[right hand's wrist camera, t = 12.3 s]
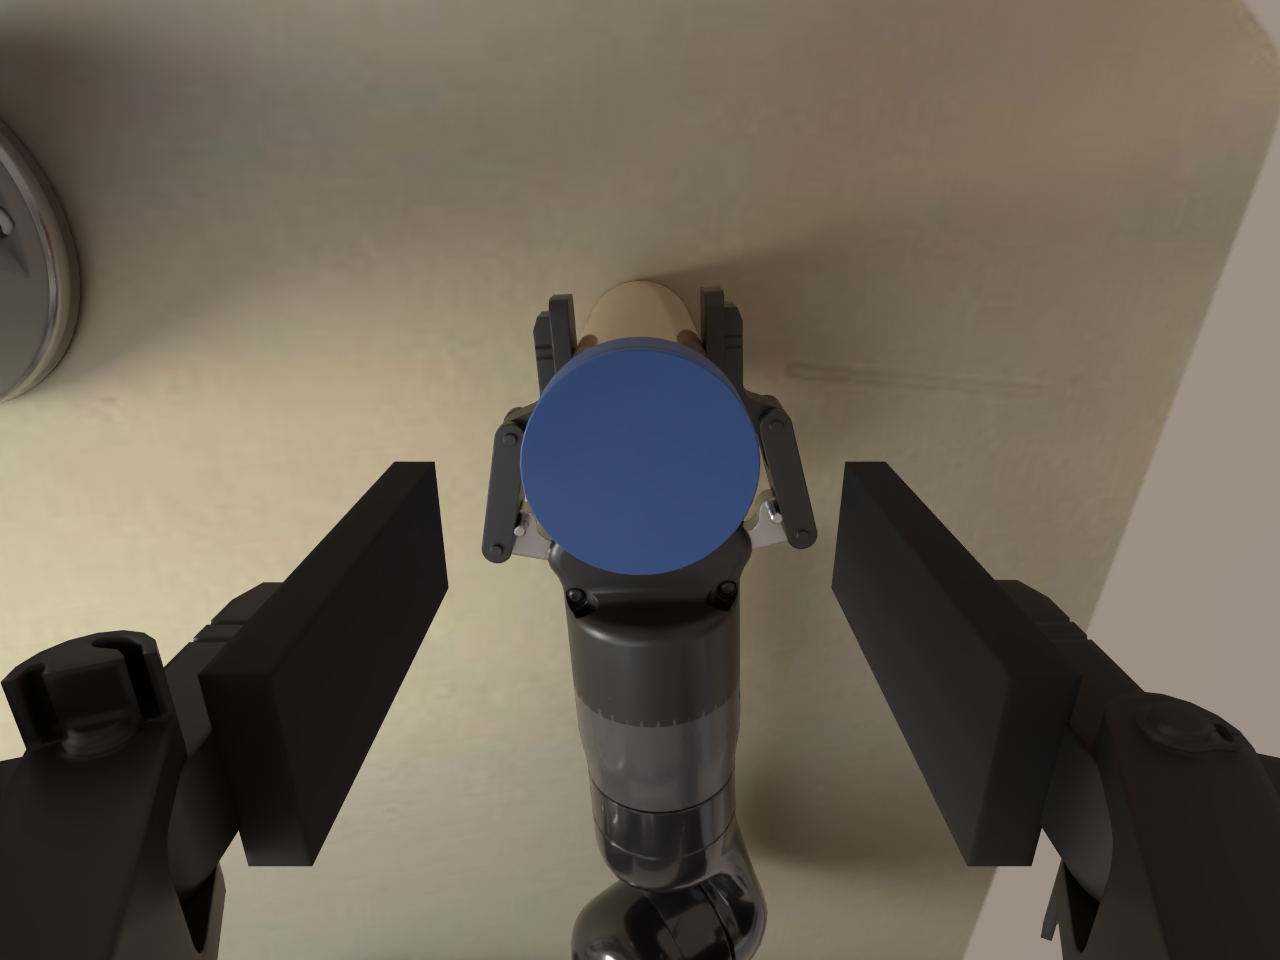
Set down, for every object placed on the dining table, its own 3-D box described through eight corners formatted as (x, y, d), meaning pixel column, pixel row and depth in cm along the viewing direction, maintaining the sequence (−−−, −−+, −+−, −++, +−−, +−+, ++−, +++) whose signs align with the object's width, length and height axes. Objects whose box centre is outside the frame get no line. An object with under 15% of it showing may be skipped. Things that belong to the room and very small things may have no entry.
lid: (729, 313, 17) (738, 325, 16) (765, 522, 19) (777, 551, 18) (503, 363, 18) (490, 379, 16) (561, 562, 20) (554, 594, 18)
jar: (681, 269, 32) (723, 341, 16) (702, 375, 34) (757, 533, 18) (575, 293, 33) (513, 387, 17) (600, 396, 35) (566, 570, 18)
